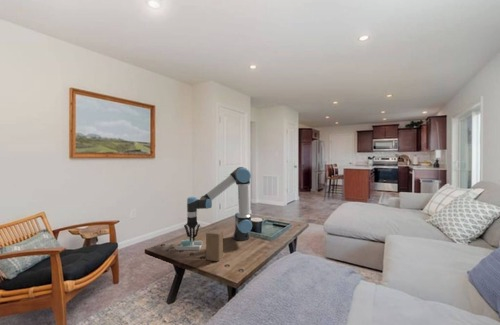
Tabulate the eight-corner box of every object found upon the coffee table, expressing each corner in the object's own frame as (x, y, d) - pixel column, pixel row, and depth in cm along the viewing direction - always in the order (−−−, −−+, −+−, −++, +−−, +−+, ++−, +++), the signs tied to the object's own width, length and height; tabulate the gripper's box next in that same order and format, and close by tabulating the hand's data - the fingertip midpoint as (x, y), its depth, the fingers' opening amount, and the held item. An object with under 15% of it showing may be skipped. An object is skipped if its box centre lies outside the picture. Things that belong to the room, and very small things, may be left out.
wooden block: (219, 261, 161) (218, 234, 160) (205, 260, 163) (205, 233, 162) (223, 255, 171) (223, 229, 170) (210, 254, 173) (210, 228, 172)
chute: (202, 244, 191) (202, 240, 191) (199, 250, 179) (199, 246, 179) (181, 244, 191) (181, 240, 191) (176, 250, 179) (176, 246, 179)
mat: (180, 244, 190) (180, 244, 190) (176, 250, 179) (176, 250, 179) (171, 244, 190) (171, 244, 190) (166, 250, 179) (166, 250, 179)
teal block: (192, 245, 188) (192, 239, 188) (190, 248, 181) (190, 242, 181) (184, 245, 188) (184, 239, 188) (182, 248, 181) (182, 242, 181)
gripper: (201, 215, 187) (201, 243, 188) (185, 215, 187) (185, 243, 188) (199, 217, 180) (199, 247, 181) (182, 217, 180) (182, 246, 181)
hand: (192, 245), depth 184 cm, fingers closed
